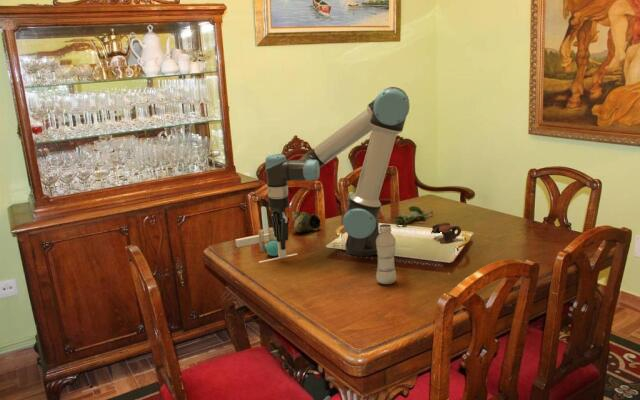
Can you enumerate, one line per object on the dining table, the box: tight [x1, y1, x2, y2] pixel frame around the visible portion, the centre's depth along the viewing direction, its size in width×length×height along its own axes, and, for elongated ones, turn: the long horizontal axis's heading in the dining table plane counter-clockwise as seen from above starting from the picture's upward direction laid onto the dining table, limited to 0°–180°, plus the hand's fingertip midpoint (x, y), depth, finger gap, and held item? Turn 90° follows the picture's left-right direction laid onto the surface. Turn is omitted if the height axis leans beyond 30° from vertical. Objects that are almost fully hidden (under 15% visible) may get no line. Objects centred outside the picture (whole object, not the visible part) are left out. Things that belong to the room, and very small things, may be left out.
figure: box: [394, 205, 434, 226], centre depth 255 cm, size 16×7×25 cm
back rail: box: [234, 231, 277, 248], centre depth 236 cm, size 18×2×3 cm, turn 117°
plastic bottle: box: [375, 223, 397, 285], centre depth 185 cm, size 6×7×20 cm
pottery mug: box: [430, 222, 463, 244], centre depth 227 cm, size 12×10×8 cm
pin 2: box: [267, 227, 275, 243], centre depth 226 cm, size 2×2×9 cm
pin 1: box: [258, 228, 266, 253], centre depth 224 cm, size 2×2×9 cm
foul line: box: [258, 252, 298, 264], centre depth 216 cm, size 16×1×1 cm, turn 117°
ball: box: [265, 240, 278, 257], centre depth 219 cm, size 6×6×6 cm
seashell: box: [291, 211, 321, 234], centre depth 246 cm, size 11×11×10 cm
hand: (282, 256), depth 212 cm, fingers closed
